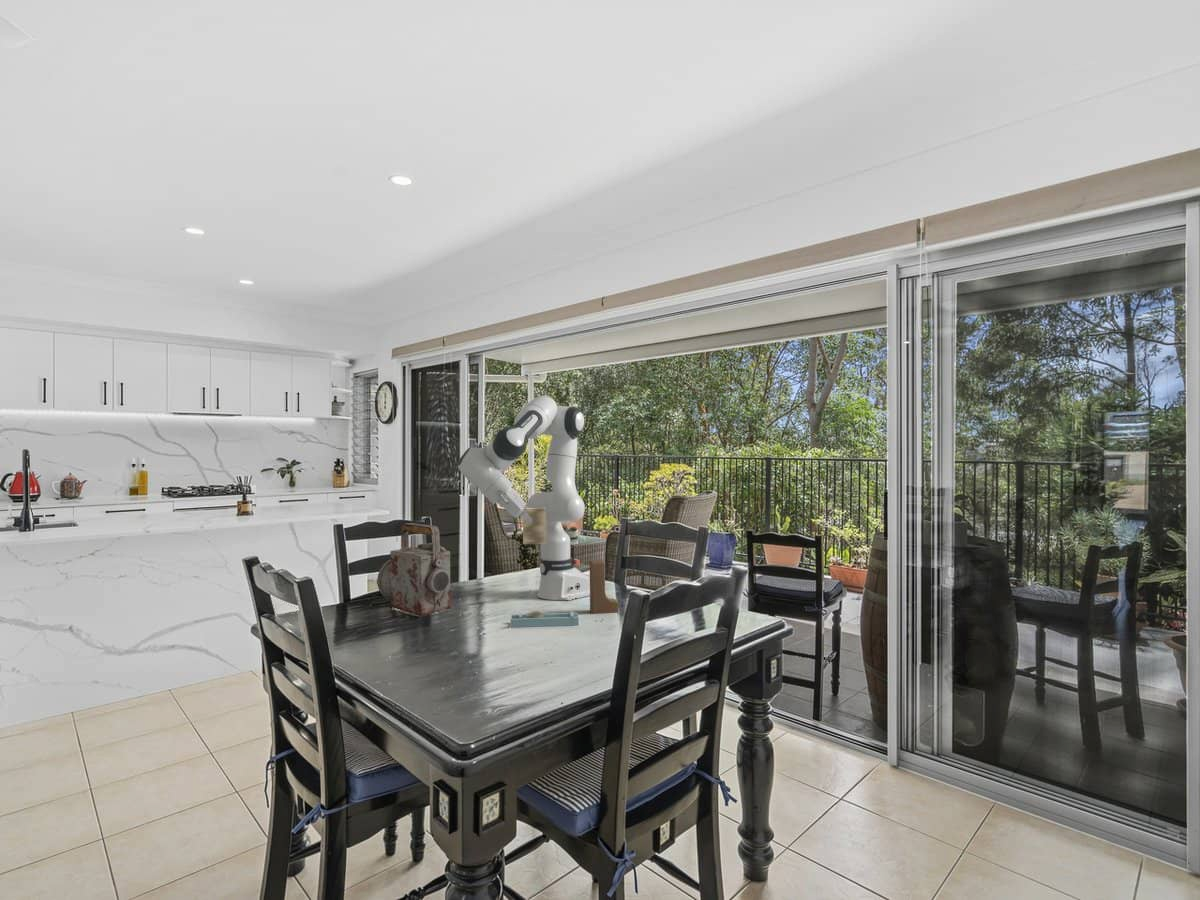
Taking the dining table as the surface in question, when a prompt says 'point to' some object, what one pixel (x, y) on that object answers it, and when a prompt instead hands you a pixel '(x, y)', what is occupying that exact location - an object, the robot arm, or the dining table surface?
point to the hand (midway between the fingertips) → (531, 521)
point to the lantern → (417, 574)
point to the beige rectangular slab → (535, 526)
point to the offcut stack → (534, 614)
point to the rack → (545, 621)
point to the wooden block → (600, 590)
